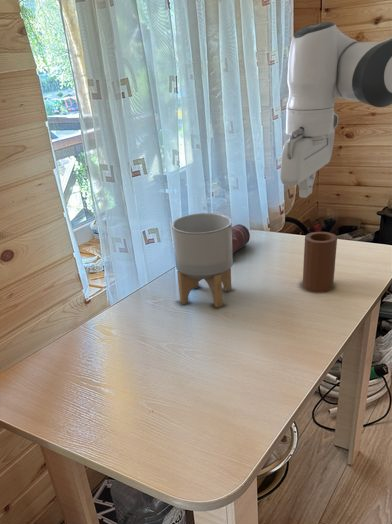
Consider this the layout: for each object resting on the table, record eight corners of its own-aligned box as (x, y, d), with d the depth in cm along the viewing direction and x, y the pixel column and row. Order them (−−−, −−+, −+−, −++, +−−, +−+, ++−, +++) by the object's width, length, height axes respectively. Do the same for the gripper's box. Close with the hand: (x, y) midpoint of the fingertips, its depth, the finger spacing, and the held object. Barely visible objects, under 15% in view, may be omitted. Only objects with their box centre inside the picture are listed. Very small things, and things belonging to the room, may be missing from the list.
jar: (336, 282, 123) (340, 233, 116) (327, 294, 118) (331, 244, 111) (308, 277, 126) (311, 230, 120) (298, 289, 121) (300, 240, 114)
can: (227, 230, 148) (201, 246, 138) (243, 219, 143) (217, 236, 133) (238, 248, 149) (213, 266, 139) (254, 238, 144) (230, 256, 134)
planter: (244, 299, 118) (242, 224, 109) (194, 314, 114) (188, 237, 104) (216, 279, 128) (213, 209, 119) (169, 293, 124) (162, 220, 114)
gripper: (306, 134, 90) (302, 212, 97) (341, 115, 104) (335, 184, 112) (272, 132, 92) (271, 208, 100) (311, 114, 107) (307, 182, 114)
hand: (305, 195), depth 106 cm, fingers closed
